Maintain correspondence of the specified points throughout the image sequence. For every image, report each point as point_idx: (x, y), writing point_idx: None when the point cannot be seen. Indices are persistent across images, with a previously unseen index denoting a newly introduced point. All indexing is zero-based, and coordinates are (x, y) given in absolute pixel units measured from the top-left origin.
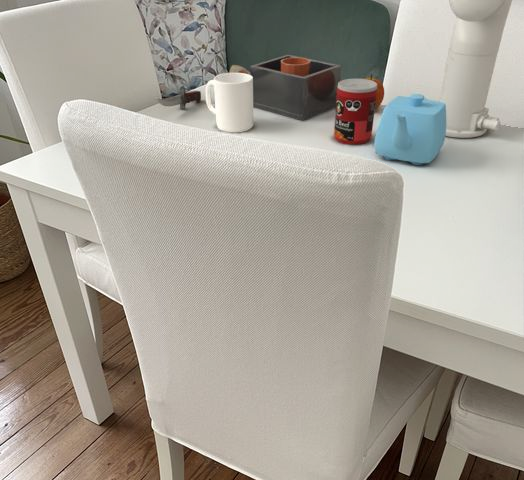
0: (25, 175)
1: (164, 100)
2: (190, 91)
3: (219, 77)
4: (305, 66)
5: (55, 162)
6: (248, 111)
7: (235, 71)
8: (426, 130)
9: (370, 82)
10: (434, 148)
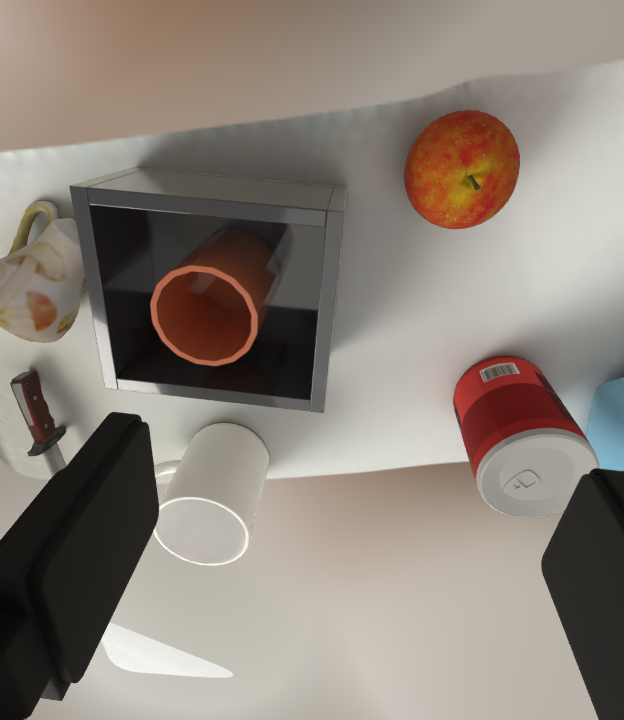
0: (156, 671)
1: None
2: (22, 411)
3: (158, 525)
4: (258, 329)
5: (144, 643)
6: (262, 486)
7: (32, 337)
8: None
9: (568, 445)
10: None
